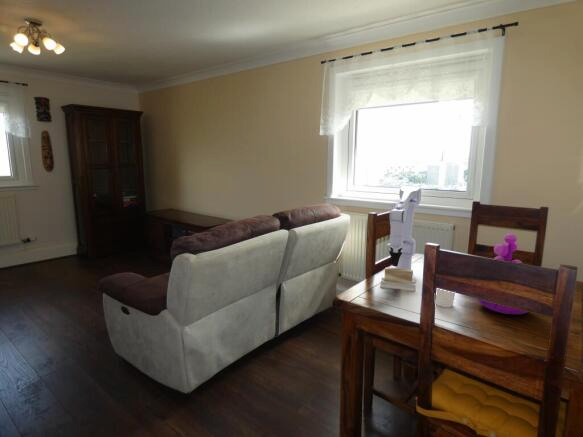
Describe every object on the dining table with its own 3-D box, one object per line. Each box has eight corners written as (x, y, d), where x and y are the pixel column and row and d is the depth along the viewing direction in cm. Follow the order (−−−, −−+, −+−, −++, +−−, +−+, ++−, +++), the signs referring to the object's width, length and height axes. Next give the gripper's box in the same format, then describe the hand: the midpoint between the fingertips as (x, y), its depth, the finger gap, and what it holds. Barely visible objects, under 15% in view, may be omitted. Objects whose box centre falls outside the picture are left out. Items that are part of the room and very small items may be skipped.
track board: (381, 281, 161) (381, 276, 160) (415, 285, 156) (415, 280, 155) (380, 286, 154) (380, 281, 154) (415, 291, 149) (415, 285, 149)
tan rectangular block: (384, 281, 158) (385, 267, 157) (411, 284, 154) (412, 270, 153) (384, 283, 155) (385, 268, 154) (411, 286, 152) (412, 271, 150)
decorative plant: (503, 323, 119) (513, 240, 114) (464, 302, 137) (471, 230, 132) (544, 317, 124) (555, 237, 119) (501, 298, 142) (509, 227, 137)
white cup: (458, 308, 132) (460, 283, 130) (437, 308, 132) (439, 283, 130) (449, 300, 139) (451, 277, 138) (429, 300, 140) (431, 276, 138)
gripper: (388, 231, 164) (387, 258, 166) (386, 237, 150) (385, 267, 152) (403, 232, 161) (402, 260, 164) (403, 239, 148) (401, 269, 150)
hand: (395, 263), depth 158 cm, fingers open, 7 cm apart
